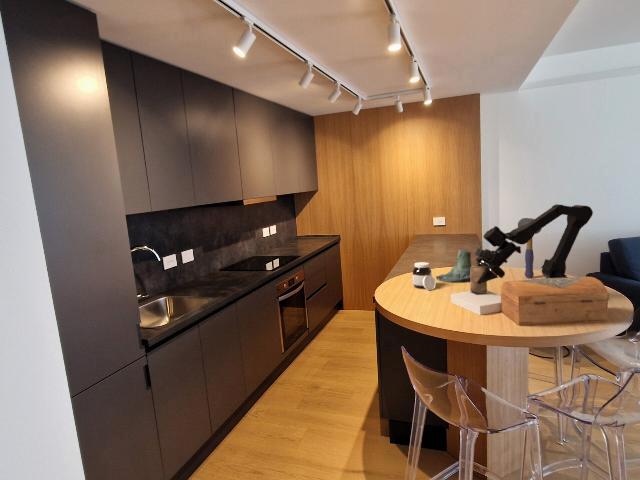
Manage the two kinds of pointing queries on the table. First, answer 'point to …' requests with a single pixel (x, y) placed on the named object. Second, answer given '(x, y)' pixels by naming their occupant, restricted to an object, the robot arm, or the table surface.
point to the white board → (478, 302)
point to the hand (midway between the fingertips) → (475, 281)
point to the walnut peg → (474, 277)
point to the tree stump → (458, 269)
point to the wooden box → (554, 300)
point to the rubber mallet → (528, 250)
